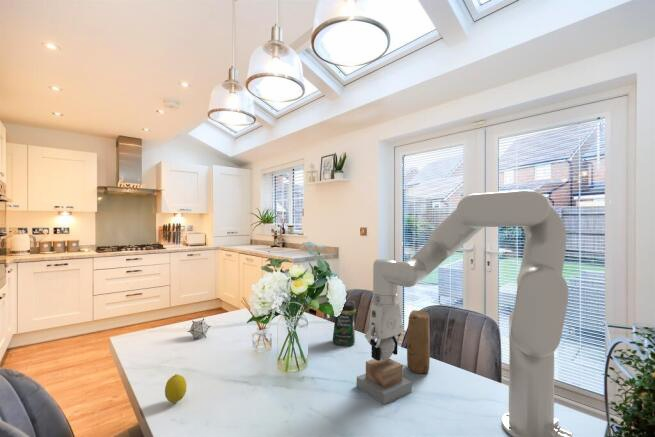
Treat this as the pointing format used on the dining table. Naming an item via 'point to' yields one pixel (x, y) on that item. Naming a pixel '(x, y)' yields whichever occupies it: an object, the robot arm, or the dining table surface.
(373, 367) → the walnut block
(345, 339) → the coffee jar
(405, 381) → the slate plinth
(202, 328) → the grey spiky faceted part
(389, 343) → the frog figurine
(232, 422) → the dining table surface
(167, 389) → the lemon
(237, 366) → the dining table surface
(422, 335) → the block
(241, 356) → the dining table surface
